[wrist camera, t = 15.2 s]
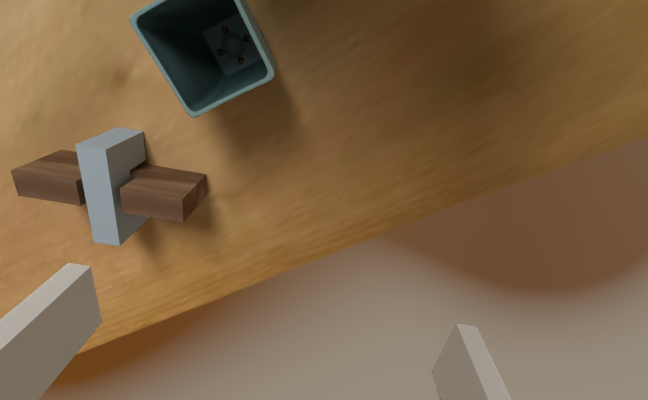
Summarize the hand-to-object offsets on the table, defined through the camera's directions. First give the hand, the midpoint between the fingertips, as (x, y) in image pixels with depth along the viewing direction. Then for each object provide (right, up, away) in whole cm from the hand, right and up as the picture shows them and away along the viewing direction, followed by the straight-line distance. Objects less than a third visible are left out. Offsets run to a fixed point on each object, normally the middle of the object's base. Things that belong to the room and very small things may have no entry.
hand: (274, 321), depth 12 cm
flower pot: (-8, +21, +22) cm, 31 cm away
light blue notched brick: (-23, +8, +29) cm, 38 cm away
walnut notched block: (-22, +8, +29) cm, 38 cm away
